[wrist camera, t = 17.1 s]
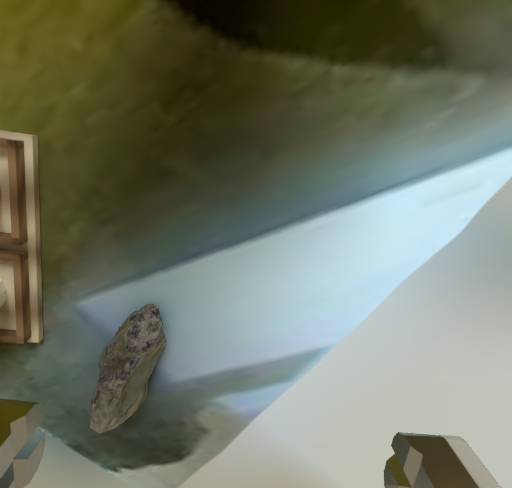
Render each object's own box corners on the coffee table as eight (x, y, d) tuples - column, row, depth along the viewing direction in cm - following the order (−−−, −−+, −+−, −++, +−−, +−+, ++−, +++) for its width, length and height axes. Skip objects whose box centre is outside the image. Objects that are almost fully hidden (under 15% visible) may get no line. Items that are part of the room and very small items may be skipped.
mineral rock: (157, 292, 44) (133, 334, 34) (208, 354, 46) (199, 409, 37) (78, 345, 45) (33, 399, 36) (131, 402, 48) (103, 467, 38)
